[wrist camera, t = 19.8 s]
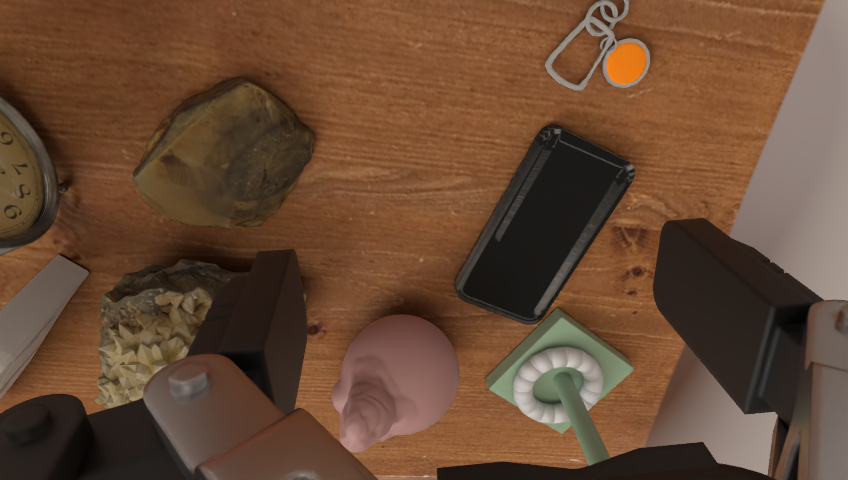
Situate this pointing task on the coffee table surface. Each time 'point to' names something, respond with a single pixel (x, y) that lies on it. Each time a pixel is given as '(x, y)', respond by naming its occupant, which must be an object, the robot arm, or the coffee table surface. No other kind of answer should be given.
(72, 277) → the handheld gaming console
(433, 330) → the figurine
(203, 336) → the robot arm
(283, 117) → the decorative stone
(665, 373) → the coffee table surface
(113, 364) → the mineral specimen
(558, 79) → the key chain
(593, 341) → the peg stand
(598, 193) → the phone
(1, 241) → the alarm clock
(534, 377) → the white segmented ring
